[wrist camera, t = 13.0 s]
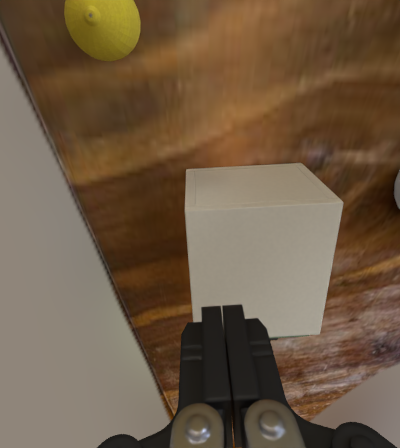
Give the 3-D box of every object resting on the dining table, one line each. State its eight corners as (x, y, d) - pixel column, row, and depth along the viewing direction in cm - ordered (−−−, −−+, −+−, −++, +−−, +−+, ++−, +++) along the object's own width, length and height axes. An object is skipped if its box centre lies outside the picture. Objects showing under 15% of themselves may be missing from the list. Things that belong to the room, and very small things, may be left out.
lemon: (139, 68, 30) (123, 71, 23) (80, 50, 29) (45, 47, 22) (151, 1, 28) (138, -20, 20) (87, -22, 27) (50, -51, 20)
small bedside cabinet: (289, 271, 42) (319, 334, 32) (193, 276, 42) (194, 341, 32) (301, 162, 35) (344, 202, 25) (186, 168, 35) (184, 210, 25)
